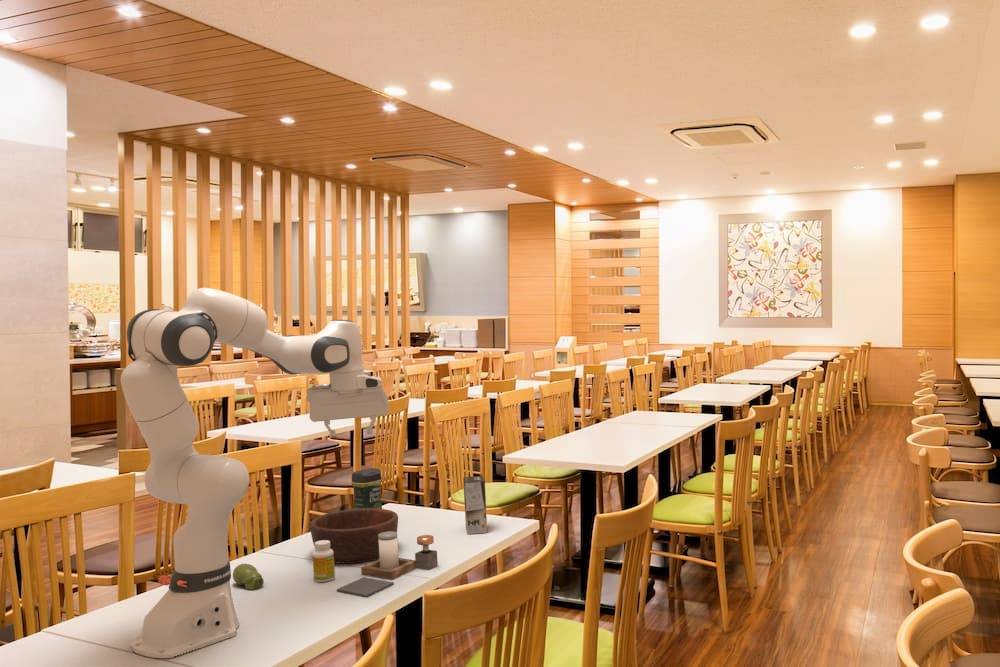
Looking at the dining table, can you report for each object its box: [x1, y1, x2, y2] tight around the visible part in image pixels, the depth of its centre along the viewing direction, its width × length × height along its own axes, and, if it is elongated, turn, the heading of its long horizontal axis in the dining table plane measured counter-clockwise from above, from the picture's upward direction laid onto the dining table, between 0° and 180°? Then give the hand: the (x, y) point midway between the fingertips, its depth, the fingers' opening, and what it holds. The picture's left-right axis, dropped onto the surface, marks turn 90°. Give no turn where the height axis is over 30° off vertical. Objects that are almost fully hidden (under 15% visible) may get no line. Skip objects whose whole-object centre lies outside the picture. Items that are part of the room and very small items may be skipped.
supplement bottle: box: [312, 540, 336, 583], centre depth 211 cm, size 5×5×10 cm
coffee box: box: [462, 475, 488, 535], centre depth 252 cm, size 9×6×16 cm
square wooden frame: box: [360, 549, 439, 581], centre depth 215 cm, size 14×14×4 cm
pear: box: [232, 563, 264, 591], centre depth 209 cm, size 6×5×10 cm
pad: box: [336, 577, 395, 598], centre depth 202 cm, size 10×10×1 cm
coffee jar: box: [351, 467, 383, 509], centre depth 263 cm, size 10×8×19 cm
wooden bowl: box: [309, 508, 399, 564], centre depth 233 cm, size 25×25×10 cm
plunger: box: [416, 534, 435, 554], centre depth 217 cm, size 4×4×5 cm
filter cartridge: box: [378, 531, 400, 570], centre depth 215 cm, size 5×5×10 cm
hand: (351, 435), depth 209 cm, fingers open, 8 cm apart
